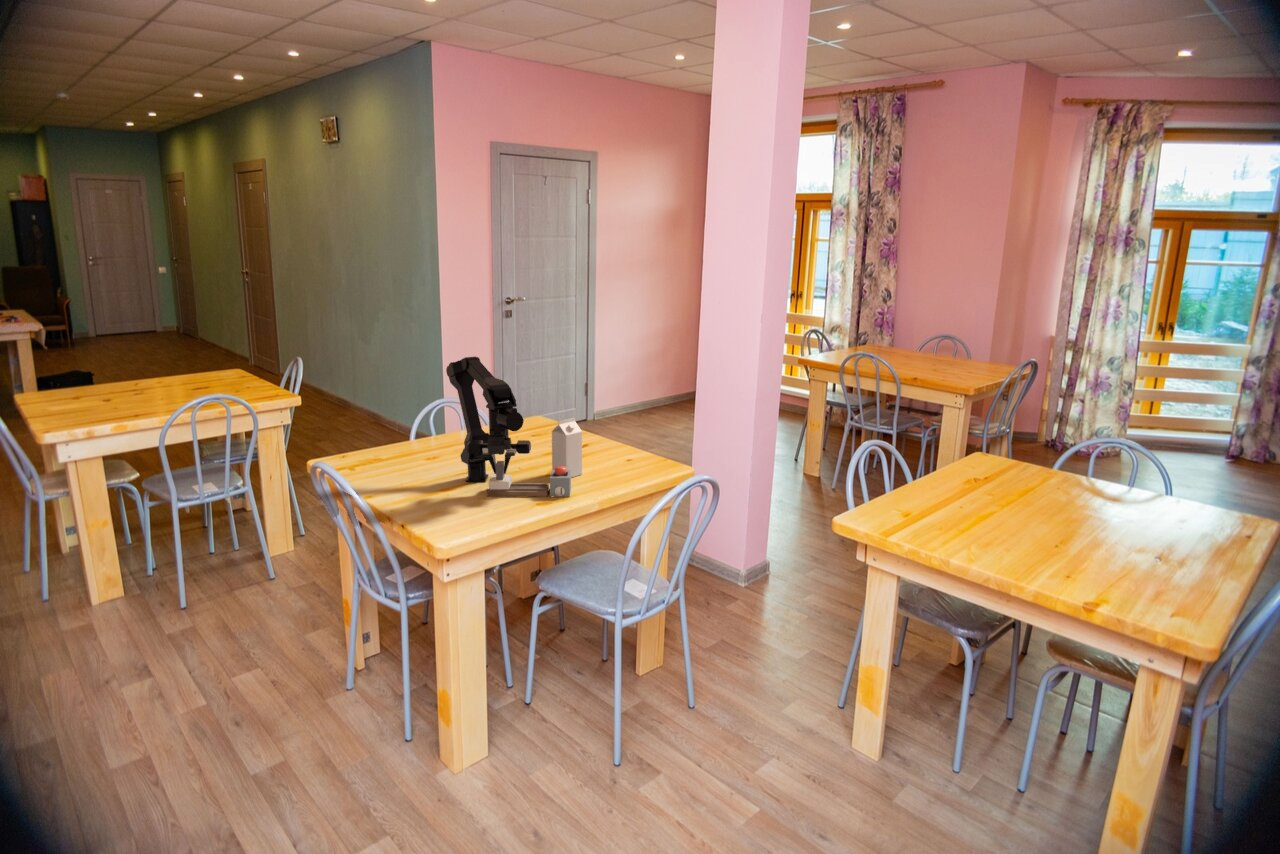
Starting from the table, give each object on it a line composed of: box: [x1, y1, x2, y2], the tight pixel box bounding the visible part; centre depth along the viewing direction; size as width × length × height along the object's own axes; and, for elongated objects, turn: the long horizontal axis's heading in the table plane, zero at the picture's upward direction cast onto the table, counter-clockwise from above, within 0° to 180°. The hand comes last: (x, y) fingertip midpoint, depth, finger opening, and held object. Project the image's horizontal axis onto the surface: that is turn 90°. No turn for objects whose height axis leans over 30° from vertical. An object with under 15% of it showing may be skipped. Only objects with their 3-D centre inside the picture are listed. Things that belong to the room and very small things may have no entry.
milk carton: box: [551, 417, 583, 478], centre depth 251 cm, size 7×7×19 cm
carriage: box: [488, 460, 513, 489], centre depth 234 cm, size 7×6×7 cm
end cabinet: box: [549, 469, 572, 498], centre depth 235 cm, size 8×6×6 cm
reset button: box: [555, 466, 566, 476], centre depth 234 cm, size 4×4×3 cm
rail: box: [486, 482, 550, 498], centre depth 235 cm, size 8×18×2 cm, turn 92°
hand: (500, 473), depth 234 cm, fingers open, 3 cm apart
